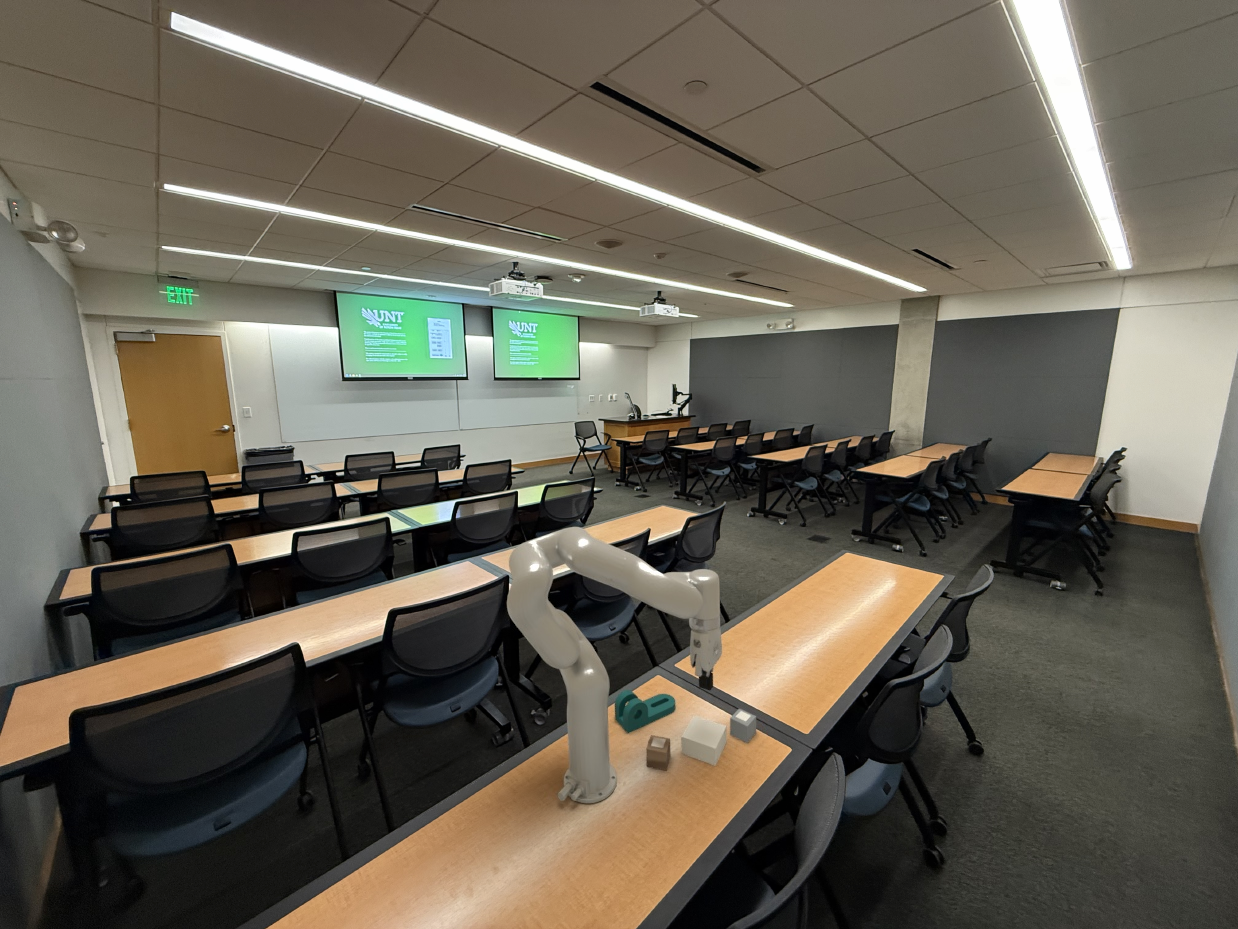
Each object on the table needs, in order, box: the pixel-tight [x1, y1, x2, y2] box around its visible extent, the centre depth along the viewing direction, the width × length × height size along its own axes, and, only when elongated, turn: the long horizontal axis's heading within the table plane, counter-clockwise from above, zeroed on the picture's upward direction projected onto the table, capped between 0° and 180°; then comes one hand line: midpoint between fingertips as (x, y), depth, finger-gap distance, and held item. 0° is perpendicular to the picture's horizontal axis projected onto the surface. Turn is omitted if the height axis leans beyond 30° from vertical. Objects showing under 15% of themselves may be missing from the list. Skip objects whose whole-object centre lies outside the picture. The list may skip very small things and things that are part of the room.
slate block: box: [729, 708, 757, 744], centre depth 128 cm, size 5×5×5 cm
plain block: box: [680, 715, 728, 766], centre depth 123 cm, size 9×9×5 cm
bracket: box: [614, 689, 676, 734], centre depth 136 cm, size 18×7×8 cm, turn 121°
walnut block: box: [645, 734, 671, 772], centre depth 119 cm, size 5×5×5 cm
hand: (706, 687), depth 121 cm, fingers closed
